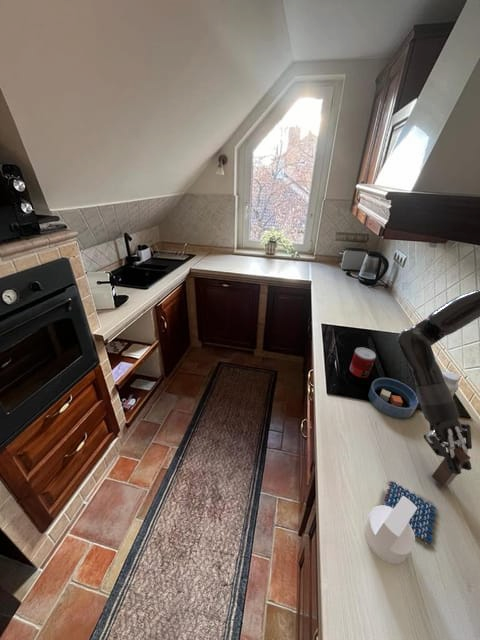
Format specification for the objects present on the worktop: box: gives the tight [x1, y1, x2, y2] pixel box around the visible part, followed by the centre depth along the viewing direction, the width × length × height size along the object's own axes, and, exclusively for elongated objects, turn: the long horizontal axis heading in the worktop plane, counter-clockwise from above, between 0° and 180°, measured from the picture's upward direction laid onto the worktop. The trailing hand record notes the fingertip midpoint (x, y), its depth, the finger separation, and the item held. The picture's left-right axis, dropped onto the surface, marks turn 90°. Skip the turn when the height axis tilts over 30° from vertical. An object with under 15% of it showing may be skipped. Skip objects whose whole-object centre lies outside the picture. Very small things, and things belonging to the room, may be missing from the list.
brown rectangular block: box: [431, 447, 471, 488], centre depth 66 cm, size 3×3×12 cm
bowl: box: [367, 377, 420, 419], centre depth 93 cm, size 15×15×6 cm
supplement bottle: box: [442, 370, 460, 398], centre depth 93 cm, size 7×7×13 cm
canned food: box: [349, 346, 377, 379], centre depth 106 cm, size 8×8×11 cm
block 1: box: [378, 389, 392, 403], centre depth 95 cm, size 3×3×3 cm
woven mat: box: [382, 480, 437, 545], centre depth 63 cm, size 10×11×2 cm
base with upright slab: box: [363, 496, 417, 565], centre depth 56 cm, size 9×9×12 cm
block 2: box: [389, 394, 404, 408], centre depth 93 cm, size 3×3×3 cm
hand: (461, 470), depth 63 cm, fingers closed on brown rectangular block, 3 cm apart
